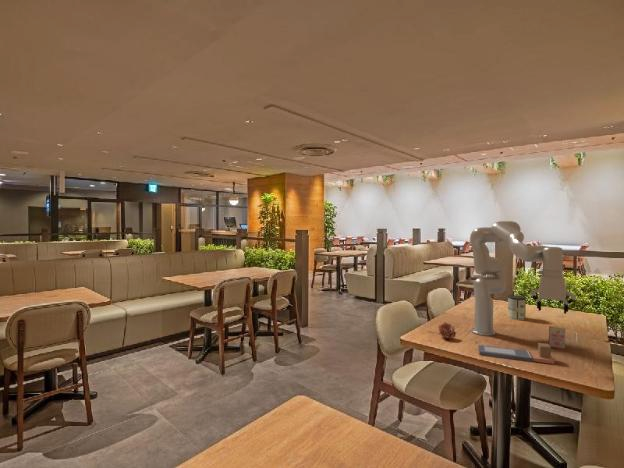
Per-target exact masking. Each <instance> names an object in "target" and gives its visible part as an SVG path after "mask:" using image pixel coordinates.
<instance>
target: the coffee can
mask: <svg viewBox="0 0 624 468" xmlns="http://www.w3.org/2000/svg"><path fill="white" fill-rule="evenodd" d="M526 299H527V297H526V296H523V295H517V294H516V295H514V294H511V295H507V318H508V319H511V320H517V321H525V320H526V305H527V303H526V301H527V300H526Z"/></svg>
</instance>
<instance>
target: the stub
mask: <svg viewBox="0 0 624 468" xmlns="http://www.w3.org/2000/svg"><path fill="white" fill-rule="evenodd" d="M551 351H552V347H550V346H549V343H543V342H538V343H537V350H536V351H535V350H529V352H530V354H531V356H532V358H533V362H536V363H544V364H552V365H555V360H554V358H553V357H552V354H551V353H552V352H551Z"/></svg>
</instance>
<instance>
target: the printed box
mask: <svg viewBox="0 0 624 468" xmlns="http://www.w3.org/2000/svg"><path fill="white" fill-rule="evenodd" d="M548 328H549V329H548V344H549V346H550V347H551V348H555V349H561V350H562V349H563V350H565V349H566V340H565V339H566V328H564V327H558V326H548Z"/></svg>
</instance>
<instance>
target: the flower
mask: <svg viewBox="0 0 624 468" xmlns="http://www.w3.org/2000/svg"><path fill="white" fill-rule="evenodd" d="M455 329H456V328H455V325H452V324H451V323H449V322H446V321H445V322H442V323H441V324H438V331H439V332H438V334H439V335H440V336H441V337H442V340H443V339H449V340H453V338H455V337H456V335H457V333H456V331H455Z"/></svg>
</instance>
